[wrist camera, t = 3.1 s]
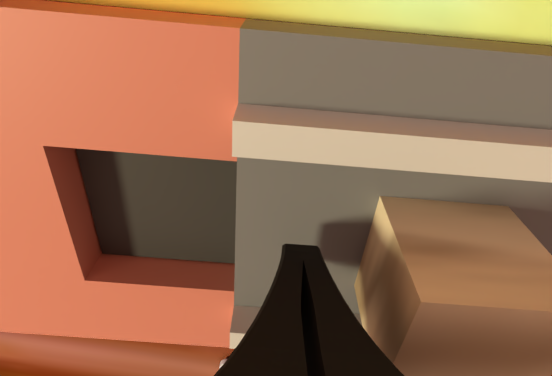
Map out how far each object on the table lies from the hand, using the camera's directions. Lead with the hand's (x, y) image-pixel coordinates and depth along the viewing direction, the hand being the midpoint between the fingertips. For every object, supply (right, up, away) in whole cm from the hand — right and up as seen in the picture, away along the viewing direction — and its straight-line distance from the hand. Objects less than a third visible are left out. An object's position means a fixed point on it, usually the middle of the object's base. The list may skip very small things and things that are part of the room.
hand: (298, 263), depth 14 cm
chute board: (+5, +1, +3) cm, 6 cm away
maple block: (+5, 0, +1) cm, 6 cm away
